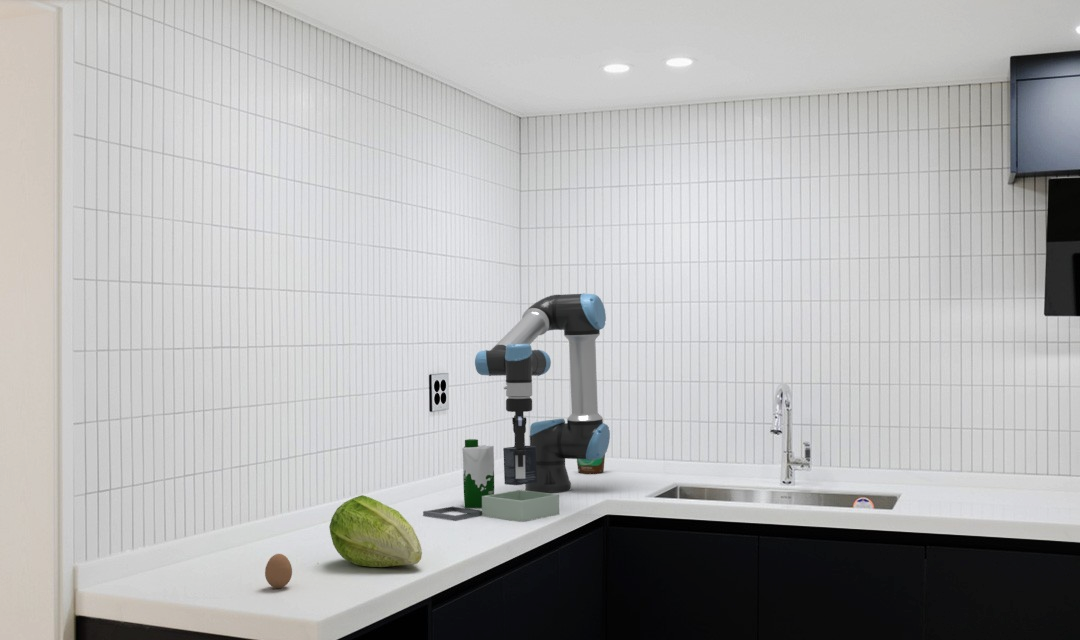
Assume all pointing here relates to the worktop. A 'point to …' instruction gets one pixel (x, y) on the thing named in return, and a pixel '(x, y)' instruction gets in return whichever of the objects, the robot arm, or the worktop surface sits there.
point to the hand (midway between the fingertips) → (520, 476)
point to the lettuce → (373, 534)
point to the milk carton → (477, 472)
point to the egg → (278, 571)
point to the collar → (438, 514)
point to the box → (511, 466)
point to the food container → (591, 466)
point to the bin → (520, 505)
